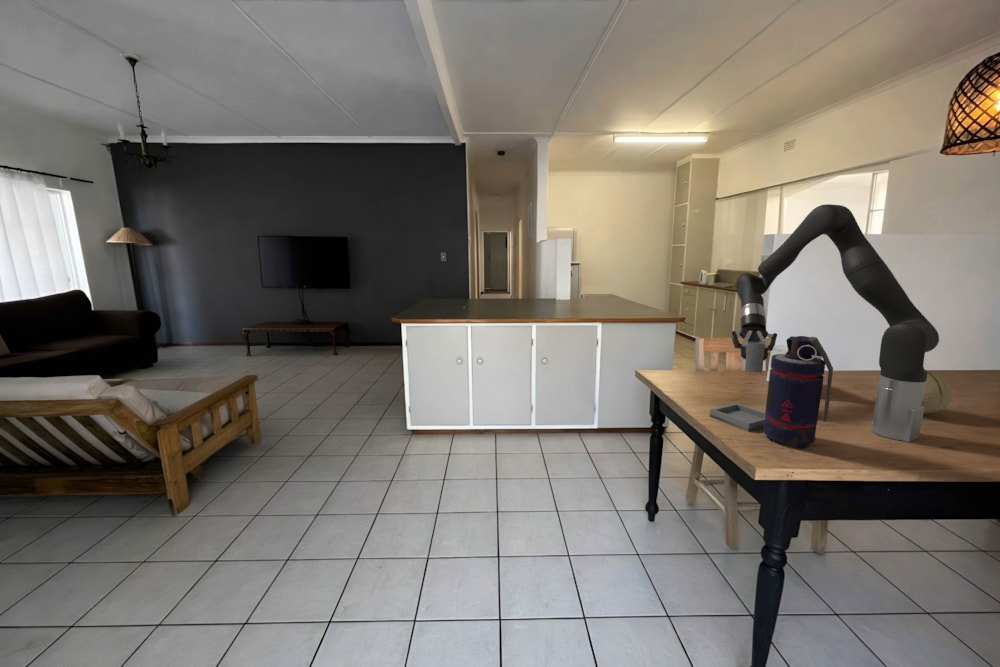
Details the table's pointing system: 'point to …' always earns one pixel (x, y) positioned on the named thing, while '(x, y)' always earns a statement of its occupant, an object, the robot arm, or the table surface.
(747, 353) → the grey tall block
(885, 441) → the table surface
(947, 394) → the honeydew melon
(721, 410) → the tray
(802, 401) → the grenade
